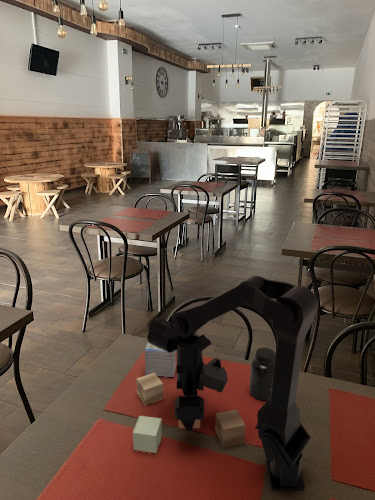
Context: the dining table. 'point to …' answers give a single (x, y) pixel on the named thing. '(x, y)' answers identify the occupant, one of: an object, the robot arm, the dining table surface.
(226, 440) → the walnut block
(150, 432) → the sage painted block
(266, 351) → the supplement bottle
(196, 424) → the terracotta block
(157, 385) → the maple block
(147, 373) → the medicine box
